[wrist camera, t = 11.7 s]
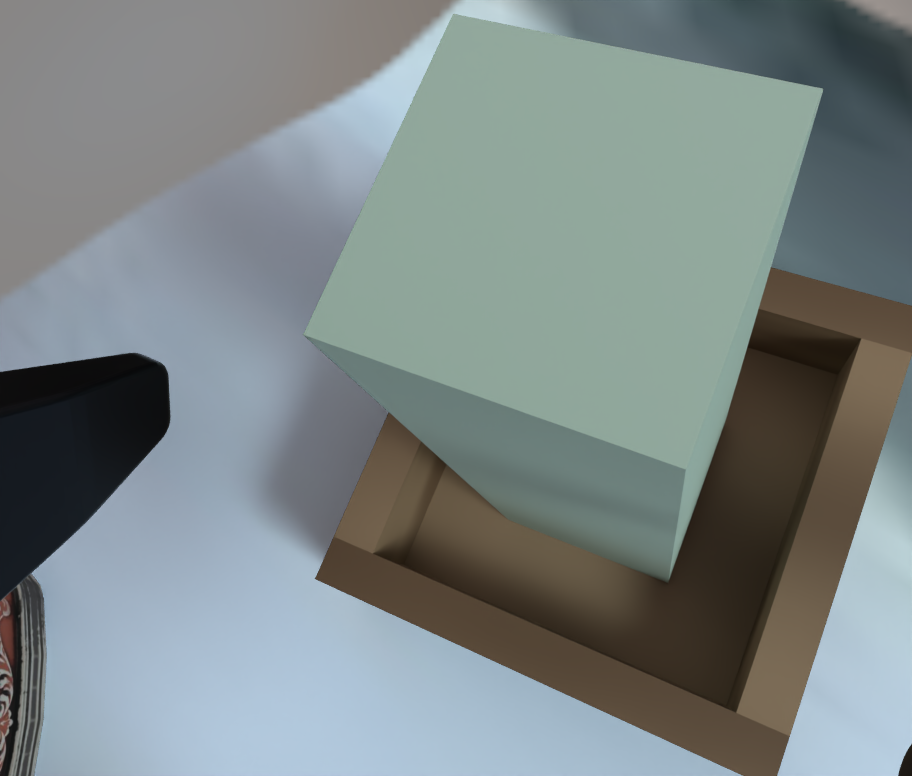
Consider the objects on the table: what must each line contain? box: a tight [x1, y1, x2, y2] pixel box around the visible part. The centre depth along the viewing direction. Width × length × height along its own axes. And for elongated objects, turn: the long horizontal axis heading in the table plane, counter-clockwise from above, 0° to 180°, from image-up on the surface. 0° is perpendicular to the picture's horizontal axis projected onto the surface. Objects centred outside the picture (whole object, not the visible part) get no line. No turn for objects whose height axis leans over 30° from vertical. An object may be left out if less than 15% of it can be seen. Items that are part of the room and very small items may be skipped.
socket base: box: [315, 268, 912, 776], centre depth 20 cm, size 10×10×3 cm
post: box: [303, 14, 823, 583], centre depth 15 cm, size 4×4×13 cm
